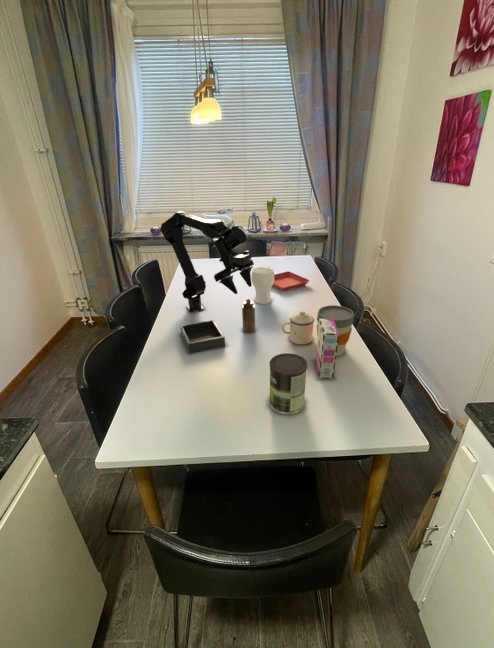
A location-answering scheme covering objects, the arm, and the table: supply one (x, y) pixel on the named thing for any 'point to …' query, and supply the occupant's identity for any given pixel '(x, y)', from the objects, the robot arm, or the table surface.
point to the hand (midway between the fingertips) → (243, 290)
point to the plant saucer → (288, 281)
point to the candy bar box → (326, 348)
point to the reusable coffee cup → (338, 323)
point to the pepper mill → (248, 316)
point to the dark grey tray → (202, 336)
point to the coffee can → (287, 383)
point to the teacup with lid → (300, 328)
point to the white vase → (262, 283)
